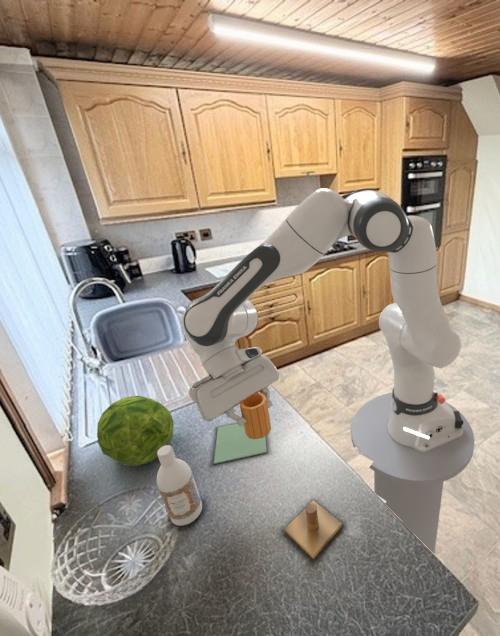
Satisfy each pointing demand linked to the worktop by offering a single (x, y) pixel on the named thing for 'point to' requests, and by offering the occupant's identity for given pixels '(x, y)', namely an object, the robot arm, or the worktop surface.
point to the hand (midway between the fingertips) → (257, 415)
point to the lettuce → (134, 430)
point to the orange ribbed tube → (256, 416)
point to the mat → (236, 444)
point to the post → (313, 528)
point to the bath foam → (177, 488)
